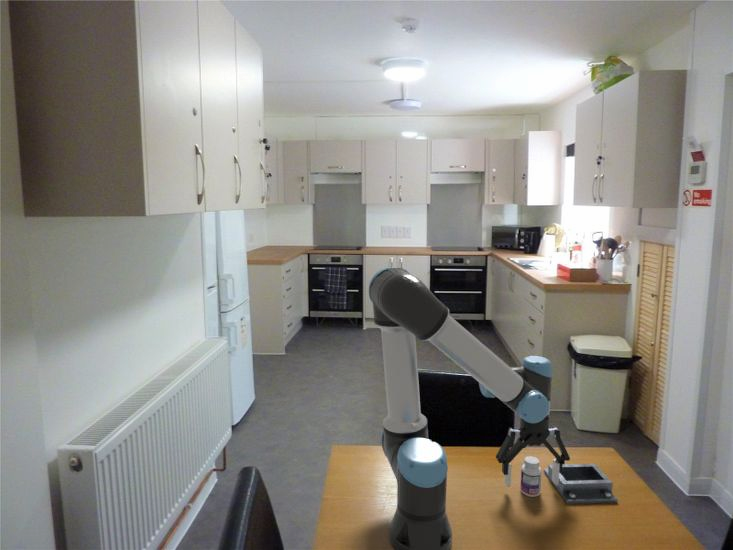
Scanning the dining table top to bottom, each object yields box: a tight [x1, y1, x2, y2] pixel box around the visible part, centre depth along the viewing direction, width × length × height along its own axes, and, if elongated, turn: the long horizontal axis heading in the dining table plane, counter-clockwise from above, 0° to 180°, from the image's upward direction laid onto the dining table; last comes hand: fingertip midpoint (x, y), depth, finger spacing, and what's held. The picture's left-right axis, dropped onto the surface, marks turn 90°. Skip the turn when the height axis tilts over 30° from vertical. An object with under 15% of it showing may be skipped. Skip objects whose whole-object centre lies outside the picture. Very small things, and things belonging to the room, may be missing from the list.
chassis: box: [543, 463, 619, 505], centre depth 144 cm, size 16×14×4 cm
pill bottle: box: [519, 455, 542, 498], centre depth 140 cm, size 5×5×10 cm
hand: (531, 483), depth 141 cm, fingers open, 13 cm apart
